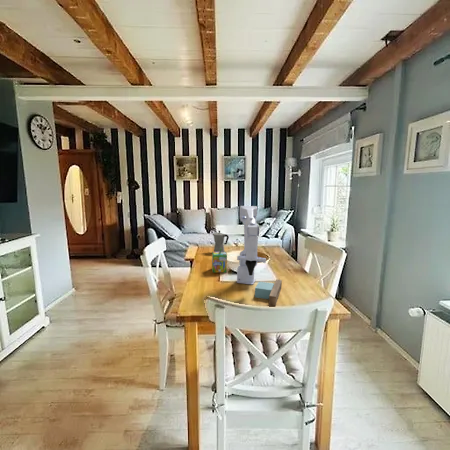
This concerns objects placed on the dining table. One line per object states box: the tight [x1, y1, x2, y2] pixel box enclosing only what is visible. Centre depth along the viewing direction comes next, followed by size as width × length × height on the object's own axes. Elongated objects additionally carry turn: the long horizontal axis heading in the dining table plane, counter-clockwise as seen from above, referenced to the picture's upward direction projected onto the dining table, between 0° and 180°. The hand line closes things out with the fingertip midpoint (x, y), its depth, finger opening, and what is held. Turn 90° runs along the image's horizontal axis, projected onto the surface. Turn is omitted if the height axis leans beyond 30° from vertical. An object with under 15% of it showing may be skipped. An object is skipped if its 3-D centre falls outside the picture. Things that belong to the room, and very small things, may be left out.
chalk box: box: [211, 249, 228, 274], centre depth 177 cm, size 9×9×15 cm
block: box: [254, 281, 275, 300], centre depth 140 cm, size 8×10×5 cm
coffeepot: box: [212, 230, 229, 252], centre depth 225 cm, size 15×9×18 cm, turn 59°
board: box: [268, 279, 283, 307], centre depth 139 cm, size 3×24×4 cm, turn 162°
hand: (250, 274), depth 142 cm, fingers closed
